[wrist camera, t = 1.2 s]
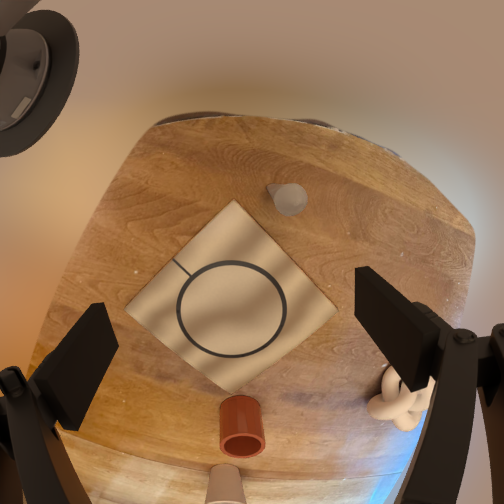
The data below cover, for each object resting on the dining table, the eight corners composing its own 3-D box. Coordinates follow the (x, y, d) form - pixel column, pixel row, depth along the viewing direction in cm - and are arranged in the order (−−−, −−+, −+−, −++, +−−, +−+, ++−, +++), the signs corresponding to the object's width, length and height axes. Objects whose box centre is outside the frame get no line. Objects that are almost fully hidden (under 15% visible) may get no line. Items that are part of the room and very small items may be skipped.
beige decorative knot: (361, 415, 48) (377, 450, 39) (357, 371, 44) (378, 408, 36) (414, 393, 48) (436, 423, 39) (417, 346, 44) (445, 377, 35)
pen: (255, 184, 35) (271, 199, 22) (274, 171, 35) (303, 179, 21) (267, 202, 36) (290, 228, 22) (286, 189, 35) (321, 208, 22)
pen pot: (211, 408, 44) (210, 446, 37) (240, 389, 43) (243, 427, 36) (239, 426, 46) (242, 462, 38) (268, 408, 45) (274, 445, 37)
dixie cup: (196, 471, 50) (194, 510, 40) (220, 455, 48) (221, 498, 39) (228, 483, 52) (229, 520, 42) (254, 468, 50) (258, 508, 41)
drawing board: (125, 306, 38) (123, 309, 37) (233, 197, 35) (233, 199, 34) (231, 390, 43) (231, 395, 42) (336, 308, 40) (339, 311, 39)
